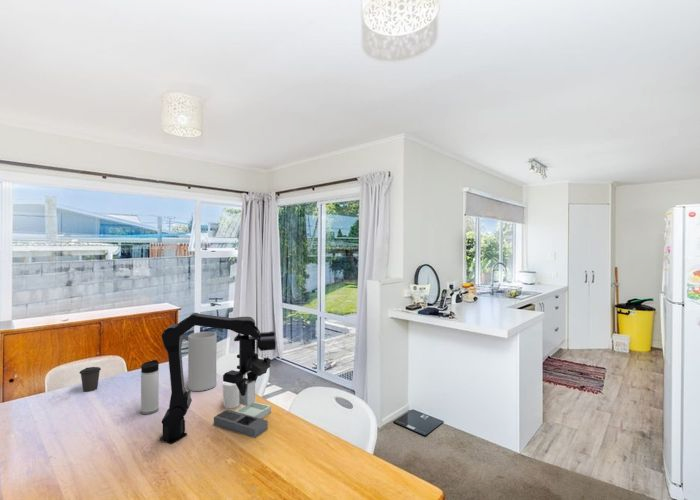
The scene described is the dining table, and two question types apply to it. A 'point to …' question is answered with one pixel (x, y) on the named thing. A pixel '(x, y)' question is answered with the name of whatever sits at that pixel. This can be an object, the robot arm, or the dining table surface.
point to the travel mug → (150, 387)
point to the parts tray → (255, 410)
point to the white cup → (230, 395)
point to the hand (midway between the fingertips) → (247, 393)
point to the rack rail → (241, 423)
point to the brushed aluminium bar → (248, 393)
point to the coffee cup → (90, 378)
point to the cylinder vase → (202, 360)
